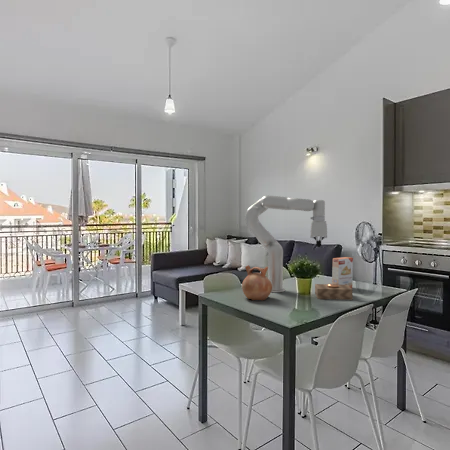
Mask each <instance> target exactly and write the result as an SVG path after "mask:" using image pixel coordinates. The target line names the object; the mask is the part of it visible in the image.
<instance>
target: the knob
mask: <svg viewBox="0 0 450 450" xmlns="http://www.w3.org/2000/svg"><path fill="white" fill-rule="evenodd" d="M326 284H327V287H329V288H338V287H339V285H338V284H332V283H326Z"/></svg>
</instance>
